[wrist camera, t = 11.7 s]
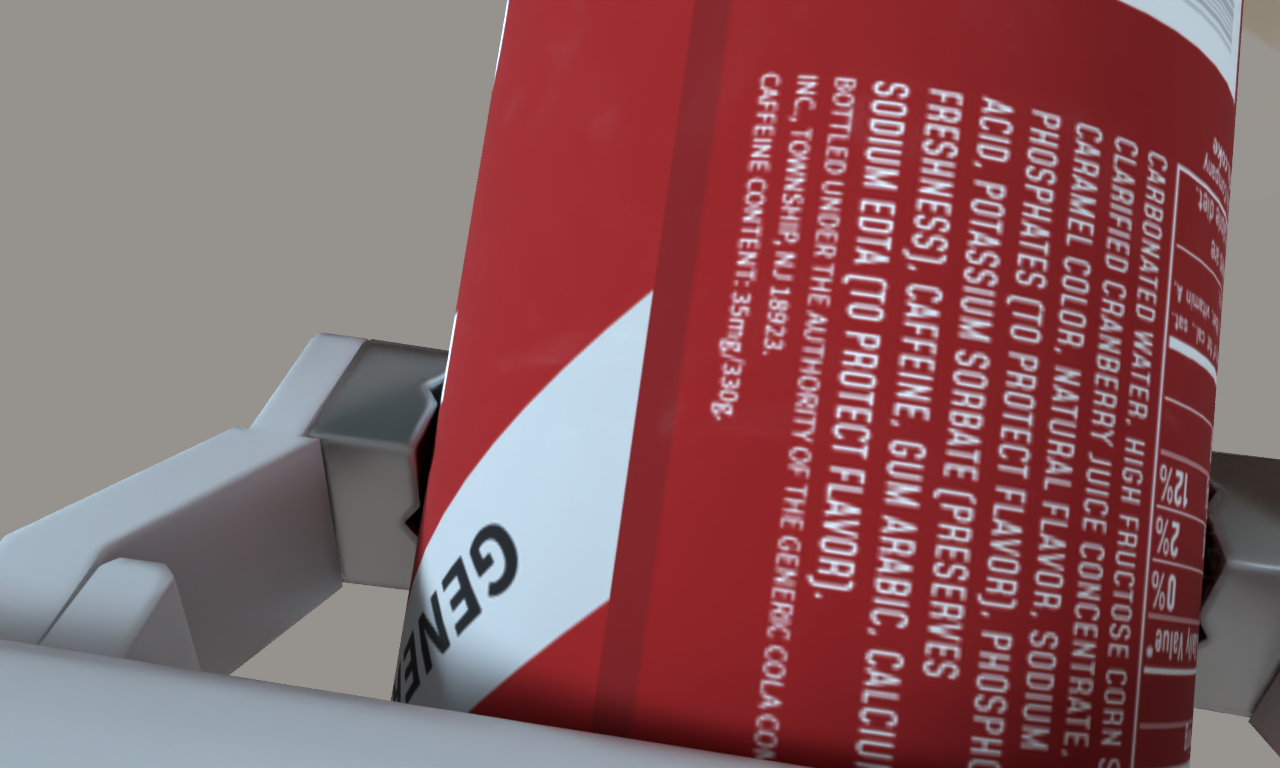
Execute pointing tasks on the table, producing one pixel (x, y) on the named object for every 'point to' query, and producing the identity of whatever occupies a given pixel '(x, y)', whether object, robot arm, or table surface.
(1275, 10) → the table surface
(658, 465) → the soda can
